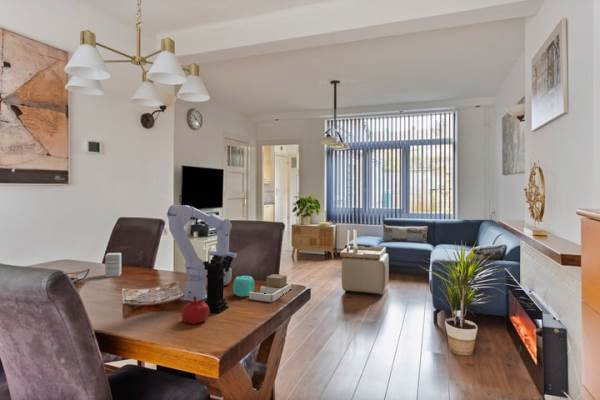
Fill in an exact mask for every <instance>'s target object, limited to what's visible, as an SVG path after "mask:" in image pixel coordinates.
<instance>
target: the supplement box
mask: <svg viewBox="0 0 600 400" xmlns="http://www.w3.org/2000/svg"><path fill="white" fill-rule="evenodd" d="M104 257H105V262H104V263H105V265H104V266H105V268H104V269H105V270H104V273H105V278H115V277H120V276H121V275H122V259H123V258H122V252H107V253H106V254H105V256H104Z"/></svg>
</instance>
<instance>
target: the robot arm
mask: <svg viewBox="0 0 600 400" xmlns="http://www.w3.org/2000/svg"><path fill="white" fill-rule="evenodd" d="M166 216H167V219H168V229H169V232H170V234H171V235H172V238H173V239H174V242H175V244H176V245H177V247H178V249H179V251H180V252H181V254H182V257H183V258H184V261H186V262H185V263H184V266H185V271H186V274H187V275H188V278H189V279H188V281H186V282H185V284H184V288H183V289H184V293H183V294H184V295H183V296H184V297H183V298H182V301H188V300H190V301H194V298H193V297H194V296H195V297H196V301H199V300H201V299H203V300H205V299H207V278H206V275H207V270H205V265H203V262H204V260H203V259H201V258H200V257H199V256H198V254H197V252H196V250H195V248H194V245H193V244H192V242H191V239H189V236H188V234H187V233H186V230H185V227H186V225H187V224H188V222H190V219H191V218H196V219H198V220H202V221H204V224H205V225H207V226H208V227H209V226H210V227H211V228H213V229H215V230H216V250H215V251H213V250H210V251H208V252H209V253H208V256H210V257H211V259H216V262H221V263H222V257H223V260H228V263H227V265H226V268H225V272H228V271H229V268H231V264H232V262H233V261H234V258H237V255H238V253H237V252H232V251H230V234H231V229H232V227H233V224H232V222H231V221H230V219H227V218H224V217H223V216H219V215H217V213H215V212H209V213H206V212H204V211H201V210H200V209H197V208H195V207H194V206H190V205H189V204H188V205H187V204H185V205H184V204H183V205H182V204H181V205H180V204H172V205H170V206H169V207H168V209H167V212H166ZM190 301H189V302H190Z"/></svg>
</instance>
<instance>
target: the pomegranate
mask: <svg viewBox="0 0 600 400" xmlns="http://www.w3.org/2000/svg"><path fill="white" fill-rule="evenodd" d="M193 298H194V301H190V300H187V303H186V304H185V305H184V306H183V307H182V310H181V313H180V314H181V319H182V321H183V322H184V323H186V324H191V325H196V324H199V323H202V322H205V321H206V320H207V319H208V317H209V316H210V315H209V314H211V313H210V309H209V306H208V305H207V303H205V302H204V301H205V300H204V299H201V300H199V301H196V297H195V296H194V297H193Z"/></svg>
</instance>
